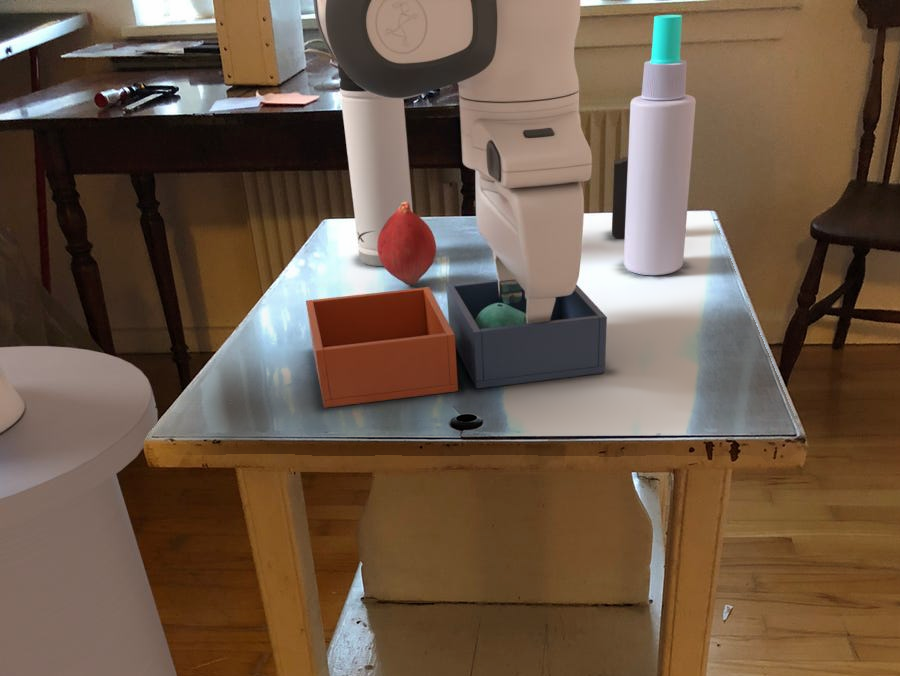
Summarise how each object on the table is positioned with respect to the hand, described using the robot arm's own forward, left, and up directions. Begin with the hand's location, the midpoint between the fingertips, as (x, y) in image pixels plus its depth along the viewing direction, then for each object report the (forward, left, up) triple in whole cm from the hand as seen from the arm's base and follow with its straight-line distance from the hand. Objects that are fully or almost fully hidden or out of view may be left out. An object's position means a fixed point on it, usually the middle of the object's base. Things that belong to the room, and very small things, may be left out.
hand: (523, 319), depth 81 cm
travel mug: (-8, +32, -3) cm, 33 cm away
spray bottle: (+18, +19, -3) cm, 27 cm away
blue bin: (0, 0, -3) cm, 3 cm away
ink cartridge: (+20, +31, -3) cm, 37 cm away
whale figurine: (-1, 0, -3) cm, 3 cm away
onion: (-7, +22, -3) cm, 23 cm away
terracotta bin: (-12, 0, -3) cm, 13 cm away
